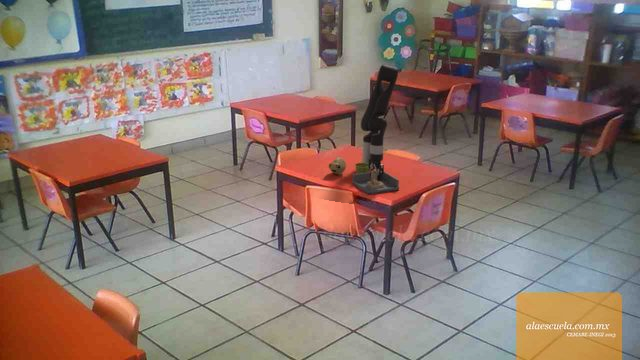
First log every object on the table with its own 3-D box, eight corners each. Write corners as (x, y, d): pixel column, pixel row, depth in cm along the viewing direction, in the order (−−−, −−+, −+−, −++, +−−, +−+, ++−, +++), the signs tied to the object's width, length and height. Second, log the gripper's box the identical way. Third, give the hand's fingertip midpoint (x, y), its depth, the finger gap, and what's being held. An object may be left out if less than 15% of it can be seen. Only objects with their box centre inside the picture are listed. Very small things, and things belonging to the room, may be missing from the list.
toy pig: (325, 176, 369) (325, 159, 366) (333, 170, 379) (334, 154, 376) (340, 178, 365) (340, 161, 362) (348, 172, 375) (348, 156, 372)
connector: (370, 185, 351) (371, 170, 348) (377, 184, 353) (377, 169, 350) (374, 187, 348) (374, 172, 345) (380, 186, 349) (380, 171, 346)
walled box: (352, 184, 355) (352, 174, 353) (382, 179, 363) (382, 170, 361) (368, 194, 338) (368, 184, 336) (399, 190, 346) (399, 180, 344)
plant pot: (351, 178, 365) (351, 164, 362) (361, 174, 372) (362, 161, 369) (362, 182, 359) (363, 168, 356) (373, 178, 365) (373, 164, 362)
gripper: (388, 154, 339) (387, 181, 344) (376, 148, 351) (375, 174, 356) (376, 156, 336) (375, 183, 341) (365, 149, 348) (364, 175, 354)
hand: (375, 178), depth 349 cm, fingers open, 8 cm apart
